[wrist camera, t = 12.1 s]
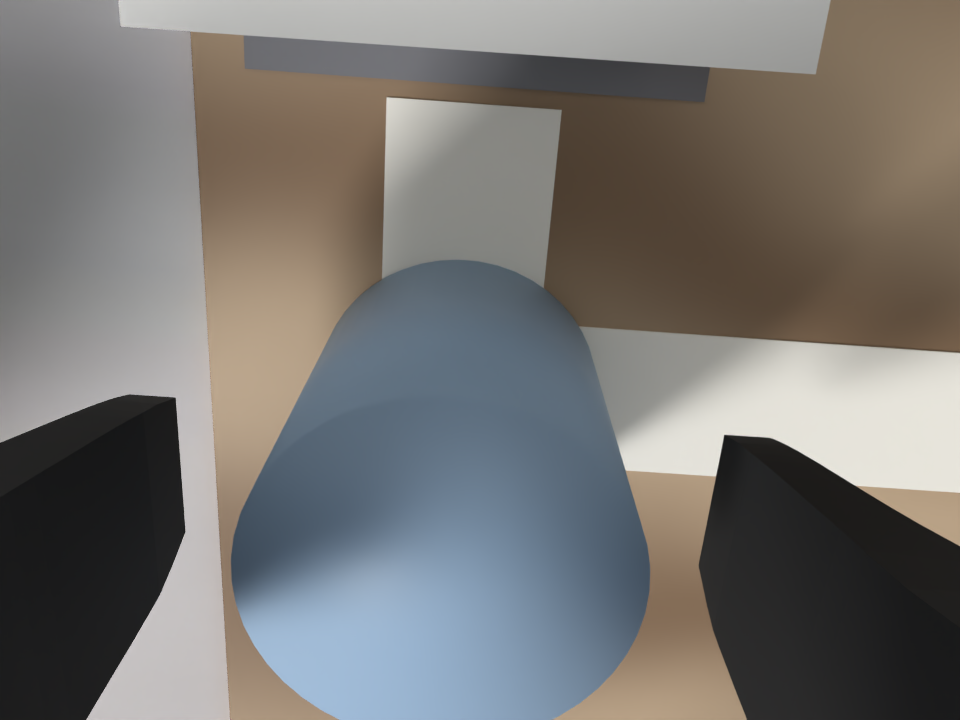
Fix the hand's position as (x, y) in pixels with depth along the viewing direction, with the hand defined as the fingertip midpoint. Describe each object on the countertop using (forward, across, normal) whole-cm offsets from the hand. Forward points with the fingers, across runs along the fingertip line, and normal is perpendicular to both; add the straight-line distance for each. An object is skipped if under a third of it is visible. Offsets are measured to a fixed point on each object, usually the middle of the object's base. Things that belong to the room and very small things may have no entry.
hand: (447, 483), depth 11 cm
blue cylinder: (+3, 0, 0) cm, 3 cm away
